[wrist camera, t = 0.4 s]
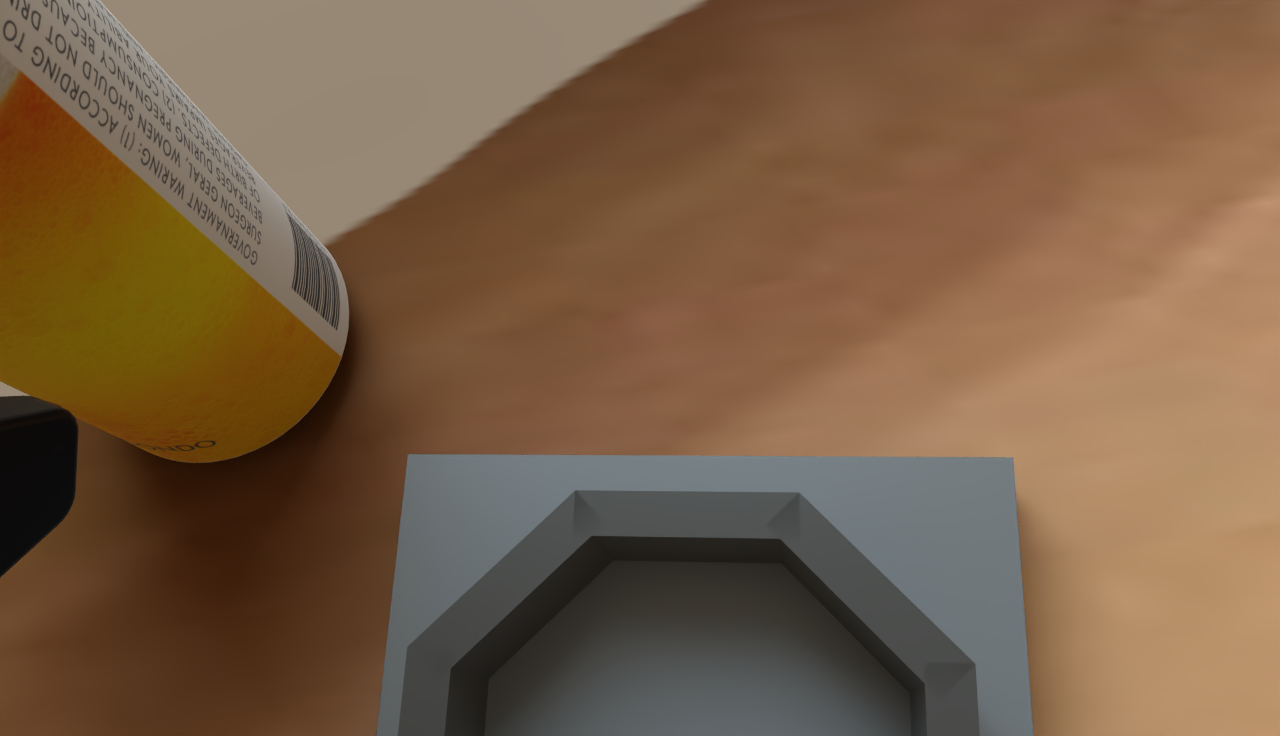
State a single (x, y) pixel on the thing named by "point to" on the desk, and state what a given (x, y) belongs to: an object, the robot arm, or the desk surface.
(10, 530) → the robot arm
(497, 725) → the collar dock
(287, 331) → the beer can
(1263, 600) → the desk surface
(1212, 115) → the desk surface
